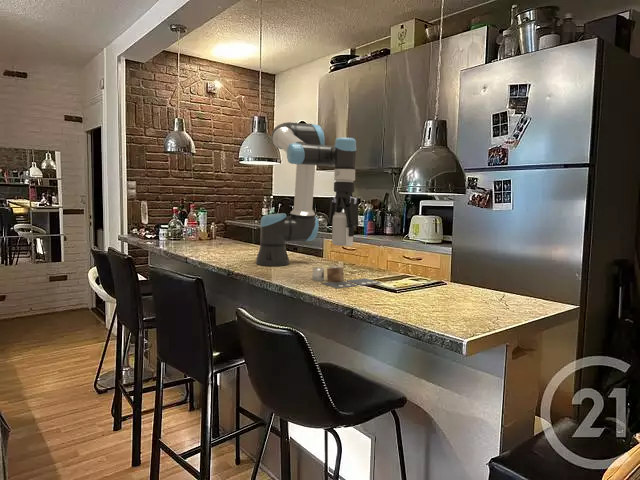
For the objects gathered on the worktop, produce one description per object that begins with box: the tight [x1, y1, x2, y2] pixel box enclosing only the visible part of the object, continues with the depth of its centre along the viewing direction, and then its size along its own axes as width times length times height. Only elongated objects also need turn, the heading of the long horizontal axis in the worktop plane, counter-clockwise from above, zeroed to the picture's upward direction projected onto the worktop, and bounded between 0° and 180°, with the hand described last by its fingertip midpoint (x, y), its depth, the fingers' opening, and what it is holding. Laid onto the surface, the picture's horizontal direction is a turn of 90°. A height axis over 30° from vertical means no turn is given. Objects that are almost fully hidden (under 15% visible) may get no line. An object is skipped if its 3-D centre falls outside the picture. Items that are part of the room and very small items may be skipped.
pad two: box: [320, 280, 359, 289], centre depth 174 cm, size 10×10×1 cm
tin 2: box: [329, 265, 341, 268], centre depth 186 cm, size 4×4×5 cm
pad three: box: [344, 278, 382, 287], centre depth 180 cm, size 10×10×1 cm
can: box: [331, 211, 348, 247], centre depth 172 cm, size 8×8×12 cm
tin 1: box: [312, 267, 325, 282], centre depth 181 cm, size 4×4×5 cm
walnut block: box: [326, 266, 345, 282], centre depth 181 cm, size 5×5×5 cm
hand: (342, 244), depth 173 cm, fingers closed on can, 7 cm apart
